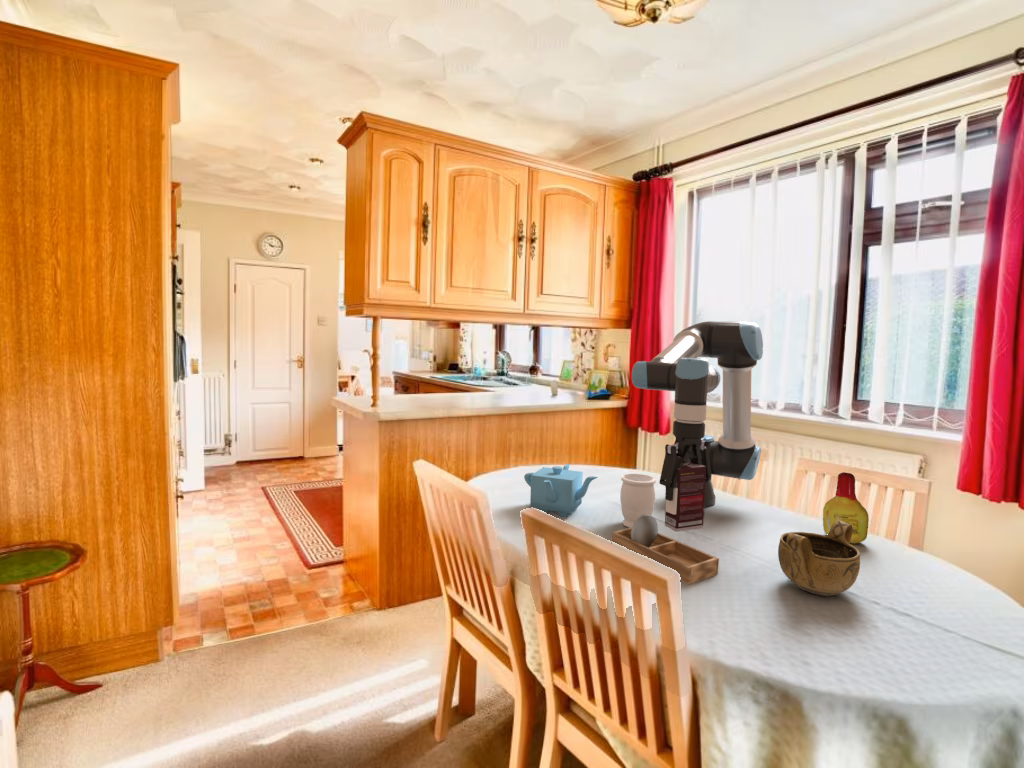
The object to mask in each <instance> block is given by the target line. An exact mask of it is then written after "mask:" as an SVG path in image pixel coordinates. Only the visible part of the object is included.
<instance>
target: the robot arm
mask: <svg viewBox="0 0 1024 768" xmlns="http://www.w3.org/2000/svg"><path fill="white" fill-rule="evenodd" d="M672 340H673V341H672V342H671V343H670V344H669V345H668V346H667V347H665V348H664V349H663V350H662V351H661V352H660V353H658V354H657V355H656V356H654V357H653V358H652V359H651V360H650V361H646V360H642V361H641V360H640V361H639V360H638V361H636V362H635V363H634V364H633V366H632V370H631V382H632V385H633V387H635V388H637V389H643V390H650V391H651V390H654V391H665V392H667V391H669V392H674V410H673V418H674V419H675V420H674V421H672V422H673V423H672V426H673V427H672V435H673V436H674V438H675V440H674V442H673V444H669V443H668V444H665V446H664V448H665V451H664V452H665V453H664V459H663V463H662V469H661V472H660V477H659V484H660V485H661V486H664V487H665V493H664V495H665V496H664V499H665V511H666V512H668V513H671V514H674V515H675V514H676V510H677V492H678V488H676V487H675V486H676V483H677V481H678V470H677V468H683V465H684V463H693V464H697V465H704V466H706V477H705V500H704V508H706V507H712V506H714V505H715V504H716V498H717V497H716V494H715V491H714V490H715V489H714V487H713V486H714V485H713V482H712V476H719V477H726V478H731V479H737V480H744V481H745V480H746V481H749V480H750V481H751V480H752V479H753V480H754V478H755V476H756V474H757V472H758V468H759V463H760V458H761V452H762V450H761V447H760V446H758V445H756V440H755V438H754V437H753V436H751V435H752V434H751V433H752V432H751V427H752V426H751V423H752V421H751V420H752V419H751V418H752V369H753V368H755V367H756V366H757V364H758V363H757V362H758V361H760V360H761V359H762V357H763V351H764V350H763V348H764V342H763V334H762V331H761V328H760V326H759V325H758V324H757V323H756V322H753V321H752V322H750V321H710V320H707V321H702V322H699V323H696V324H693V325H690V326H688V327H686V328H683V329H682V330H681V331H679V332H678V333H677V334H676V335H675V336H674V338H673V339H672ZM707 358H712V359H717V366H718V367H720V368H721V370H722V435H720V436H719V437H718V439H717V441H716V440H715V438H714V436H713V435H709V434H705V433H706V423H705V421H706V420H707V400H708V399H707V398H708V394H709V393H711V392H713V391H714V390H715V389H717V388H718V387H719V386H720V382H721V374H720V372H719V370H718V369H717V368H716V367H715V366H713V365H711V364H709V360H708V359H707ZM671 481H672V483H671Z"/></svg>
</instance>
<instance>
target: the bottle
mask: <svg viewBox="0 0 1024 768" xmlns="http://www.w3.org/2000/svg"><path fill="white" fill-rule="evenodd" d="M822 511H823V512H822V515H823V516H822V517H823V518H822V527H823V531H824V534H825V535H827V534H829V532H830V529H831V527H832V525H833V523H834V522H835V521H842V522H845V523H848V524H850V525H852V527H853V532H852V536H851V540H850V544H853V543H858V544H860V543H862V542H864V541H866V539H867V537H868V532H869V531H868V529H869V519H870V518H869V513H868V511H867V509H866V508H865V506H863V505H862V503H861V502H860V501H859V500H858V498H857V494H856V477H855V476H854V474H853V473H851V472H850V473H849V472H845V471H844V472H841V473H839V474H838V475H837V484H836V491H835V496H834V497H832V498H830V499H829V500H828V501H826V502H825V503H824V506H823V509H822Z"/></svg>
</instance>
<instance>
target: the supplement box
mask: <svg viewBox="0 0 1024 768" xmlns="http://www.w3.org/2000/svg"><path fill="white" fill-rule="evenodd" d="M677 470H678V481H677V483H676V486H675V487H676V488H678V492H677V510H676V514H675V515H674V514H671V513H668V512H666V510H665V513H664V527H667V528H668V529H670V530H672V531H674V532H684V531H690V530H697V529H698V530H699V529H703V528H704V520H705V518H704V517H705V507H704V500H705V477H706V466H704V465H697V464H693V463H684V465H683V468H677ZM671 483H672V481H671Z"/></svg>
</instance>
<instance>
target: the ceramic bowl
mask: <svg viewBox="0 0 1024 768" xmlns="http://www.w3.org/2000/svg"><path fill="white" fill-rule="evenodd" d="M852 532H853V527H852V525H850V524H848V523H845V522H842V521H835V522H834V523H833V525H832V527H831V529H830V532H829V534H828V535H827V534H825V535H824V534H819V533H813V532H806V531H805V532H804V531H790V532H784V533H783V534H781V535H780V538H779V543H778V549H777V551H778V553H777V554H778V556H777V557H778V563H779V566H780V568H781V571H782V573H783V574H784V575H785V577H787V579H789V580H790V582H791V583H793V584H794V585H796V587H798V588H800V589H801V590H804V591H806V592H808V593H811V594H814V595H817V596H825V597H828V596H836V595H839V594H842V593H844V592H846V591H848V590H849V589H850V588H851V587H853V585H854V584H855V583H856V581H857V579H858V576H859V575H860V574H859V573H860V568H861V557H860V551H859V549H858V548H857V547H855V546H854V545H853V544H851V543H850V540H851V536H852Z"/></svg>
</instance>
